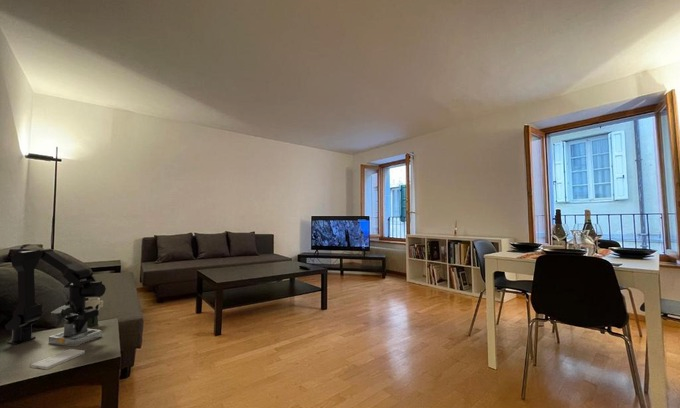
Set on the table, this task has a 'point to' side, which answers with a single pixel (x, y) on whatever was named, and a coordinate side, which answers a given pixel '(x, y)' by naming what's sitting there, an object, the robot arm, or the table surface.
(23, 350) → the table surface
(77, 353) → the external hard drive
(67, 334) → the dark grey block
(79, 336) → the rack
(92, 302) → the toy figurine
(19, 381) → the table surface
